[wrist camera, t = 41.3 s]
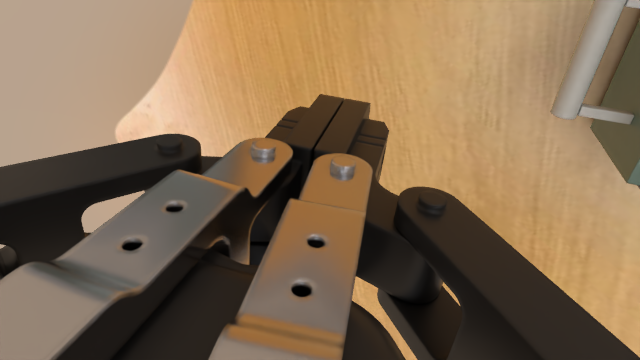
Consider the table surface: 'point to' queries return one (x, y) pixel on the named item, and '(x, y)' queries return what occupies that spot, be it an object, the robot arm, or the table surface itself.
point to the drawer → (622, 95)
